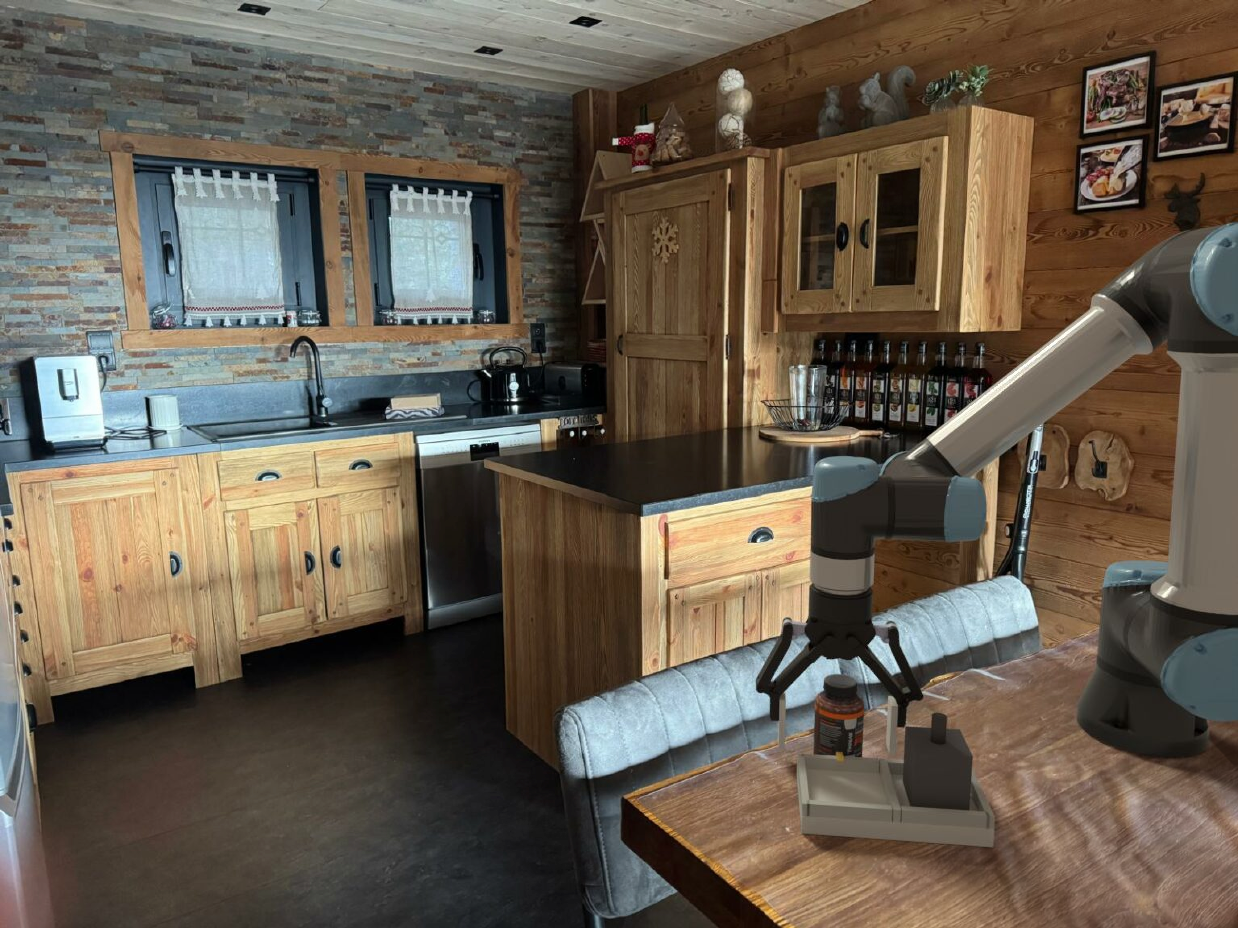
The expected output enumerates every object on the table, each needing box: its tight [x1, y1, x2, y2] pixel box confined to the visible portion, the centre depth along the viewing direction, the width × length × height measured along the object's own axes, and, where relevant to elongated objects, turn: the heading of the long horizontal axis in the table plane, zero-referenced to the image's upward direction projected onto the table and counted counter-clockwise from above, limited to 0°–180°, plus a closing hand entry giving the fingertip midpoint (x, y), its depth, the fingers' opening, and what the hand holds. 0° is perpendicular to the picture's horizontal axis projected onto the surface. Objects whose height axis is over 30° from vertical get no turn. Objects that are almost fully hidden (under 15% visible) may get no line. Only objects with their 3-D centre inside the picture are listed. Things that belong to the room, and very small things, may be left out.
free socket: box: [796, 752, 892, 822], centre depth 100 cm, size 10×11×2 cm
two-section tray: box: [796, 757, 996, 848], centre depth 99 cm, size 20×11×4 cm, turn 82°
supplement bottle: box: [813, 673, 865, 757], centre depth 108 cm, size 6×6×11 cm
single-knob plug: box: [903, 712, 974, 811], centre depth 97 cm, size 6×6×10 cm
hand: (835, 746), depth 109 cm, fingers open, 13 cm apart
